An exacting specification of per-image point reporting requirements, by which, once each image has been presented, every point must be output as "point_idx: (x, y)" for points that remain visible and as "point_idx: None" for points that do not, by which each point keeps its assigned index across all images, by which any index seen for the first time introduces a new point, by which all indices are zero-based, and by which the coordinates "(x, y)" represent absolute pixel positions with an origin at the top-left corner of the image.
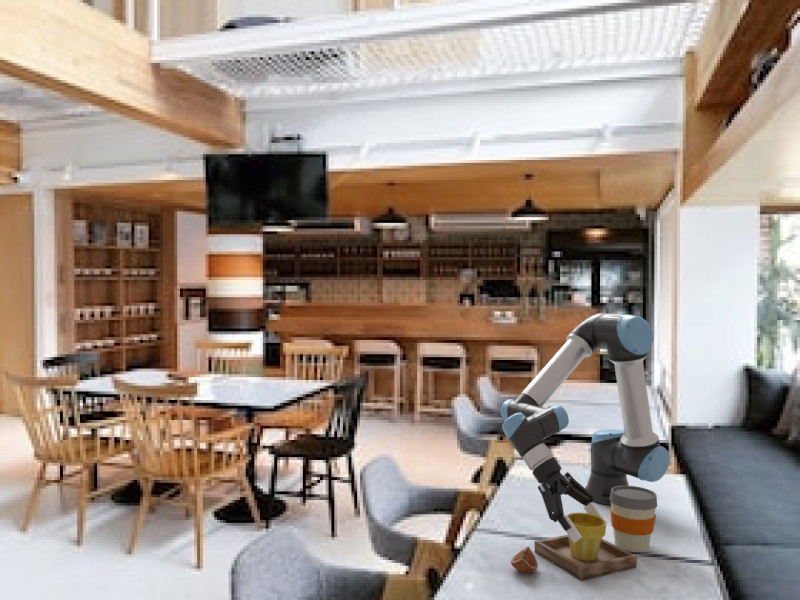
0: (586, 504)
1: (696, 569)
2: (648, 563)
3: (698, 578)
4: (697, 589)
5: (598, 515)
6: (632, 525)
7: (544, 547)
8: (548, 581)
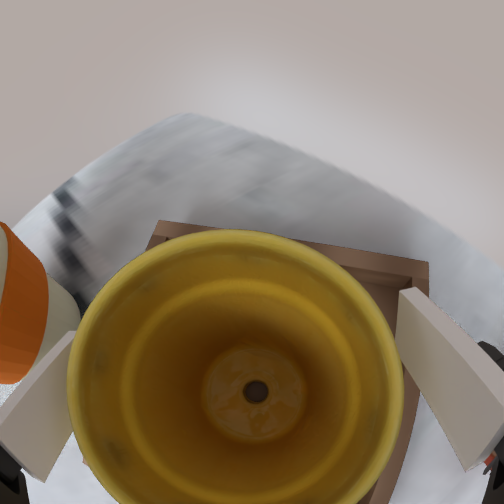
0: (13, 468)
1: (98, 173)
2: (124, 239)
3: (138, 148)
4: (190, 124)
5: (50, 373)
6: (26, 266)
7: (390, 493)
8: (489, 330)
